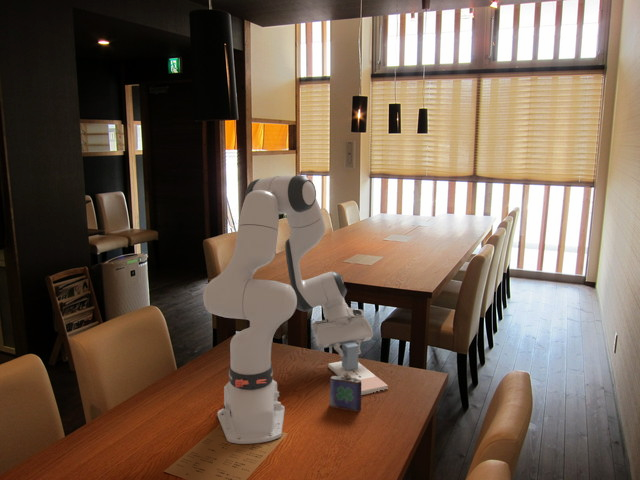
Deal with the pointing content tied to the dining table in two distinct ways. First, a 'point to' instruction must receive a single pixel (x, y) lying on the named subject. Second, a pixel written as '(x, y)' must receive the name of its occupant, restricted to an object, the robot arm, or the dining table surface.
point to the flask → (345, 392)
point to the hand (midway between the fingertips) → (351, 355)
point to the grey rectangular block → (350, 355)
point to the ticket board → (360, 377)
